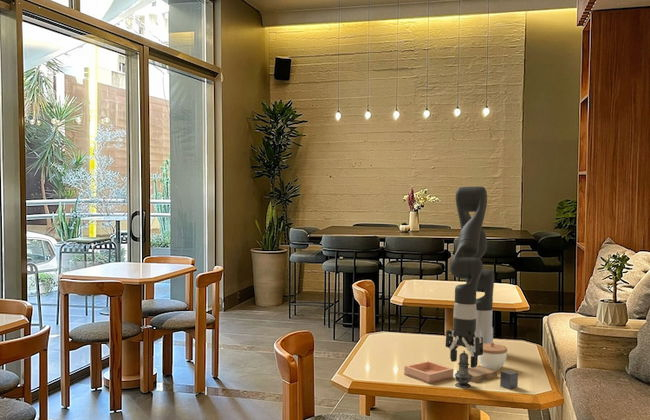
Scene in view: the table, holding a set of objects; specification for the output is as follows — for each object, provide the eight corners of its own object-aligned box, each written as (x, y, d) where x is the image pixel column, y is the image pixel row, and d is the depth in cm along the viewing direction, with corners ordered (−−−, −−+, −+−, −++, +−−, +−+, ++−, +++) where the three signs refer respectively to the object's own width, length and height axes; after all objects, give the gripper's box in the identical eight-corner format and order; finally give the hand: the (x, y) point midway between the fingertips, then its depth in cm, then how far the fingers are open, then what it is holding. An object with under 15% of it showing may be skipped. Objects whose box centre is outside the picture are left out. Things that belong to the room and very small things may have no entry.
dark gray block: (507, 384, 216) (508, 369, 216) (517, 387, 213) (518, 372, 213) (500, 386, 214) (500, 371, 214) (510, 389, 211) (510, 374, 210)
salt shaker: (472, 389, 210) (473, 353, 210) (454, 387, 212) (455, 352, 211) (471, 383, 216) (472, 348, 216) (454, 382, 217) (455, 347, 217)
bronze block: (479, 372, 231) (479, 365, 231) (497, 377, 224) (497, 370, 224) (456, 377, 224) (457, 370, 224) (474, 383, 217) (474, 376, 217)
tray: (428, 368, 232) (428, 360, 232) (453, 377, 223) (453, 368, 222) (404, 374, 225) (404, 366, 225) (429, 383, 215) (429, 374, 215)
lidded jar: (501, 373, 228) (502, 348, 227) (472, 368, 234) (473, 343, 233) (510, 366, 237) (510, 341, 236) (482, 361, 243) (482, 337, 242)
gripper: (489, 318, 209) (487, 367, 210) (456, 311, 221) (454, 357, 221) (474, 321, 205) (472, 371, 205) (441, 313, 216) (439, 360, 217)
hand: (463, 364), depth 213 cm, fingers open, 8 cm apart
